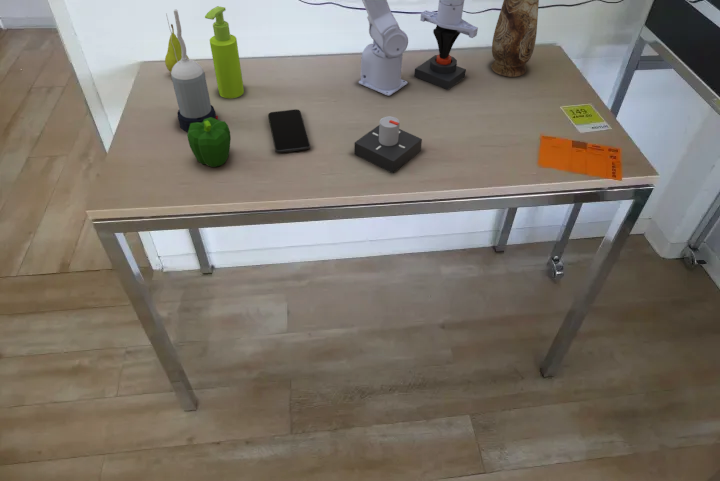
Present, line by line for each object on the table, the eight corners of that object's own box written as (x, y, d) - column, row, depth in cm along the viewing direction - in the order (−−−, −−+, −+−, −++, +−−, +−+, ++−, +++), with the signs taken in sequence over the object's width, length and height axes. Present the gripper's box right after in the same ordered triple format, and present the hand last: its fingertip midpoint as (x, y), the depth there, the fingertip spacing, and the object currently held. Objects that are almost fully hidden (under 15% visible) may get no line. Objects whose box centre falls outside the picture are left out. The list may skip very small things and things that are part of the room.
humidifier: (223, 126, 124) (202, 13, 106) (187, 136, 121) (159, 23, 103) (209, 108, 129) (187, -2, 111) (174, 118, 126) (146, 7, 108)
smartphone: (311, 150, 118) (300, 111, 128) (310, 146, 117) (300, 108, 128) (275, 154, 117) (267, 115, 127) (275, 151, 116) (267, 111, 126)
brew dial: (375, 142, 115) (376, 122, 112) (385, 132, 118) (386, 112, 114) (391, 148, 114) (393, 128, 110) (401, 138, 116) (403, 118, 113)
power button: (433, 63, 139) (434, 57, 138) (441, 58, 141) (442, 51, 140) (445, 68, 137) (446, 61, 136) (453, 63, 139) (454, 56, 138)
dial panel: (354, 154, 117) (354, 141, 115) (383, 133, 123) (383, 121, 121) (392, 173, 113) (393, 160, 111) (420, 150, 119) (422, 138, 116)
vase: (532, 79, 141) (564, -49, 120) (489, 78, 141) (514, -50, 120) (523, 59, 148) (553, -65, 127) (483, 58, 148) (506, -66, 127)
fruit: (173, 82, 137) (161, 35, 128) (165, 72, 140) (153, 25, 132) (195, 76, 139) (186, 29, 130) (187, 66, 142) (177, 20, 134)
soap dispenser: (211, 97, 132) (195, 13, 118) (227, 83, 137) (213, 1, 123) (233, 102, 131) (219, 18, 117) (248, 88, 135) (237, 5, 121)
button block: (414, 76, 141) (415, 61, 138) (432, 64, 145) (433, 49, 143) (448, 89, 136) (450, 74, 134) (465, 76, 141) (468, 62, 138)
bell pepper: (195, 148, 118) (186, 106, 111) (235, 147, 118) (228, 105, 111) (190, 173, 112) (179, 130, 105) (231, 171, 112) (224, 129, 105)
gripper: (488, 4, 127) (478, 60, 137) (434, -13, 134) (428, 42, 143) (472, 14, 123) (463, 70, 133) (417, -4, 130) (412, 52, 139)
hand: (444, 56), depth 138 cm, fingers closed, pressing on power button
